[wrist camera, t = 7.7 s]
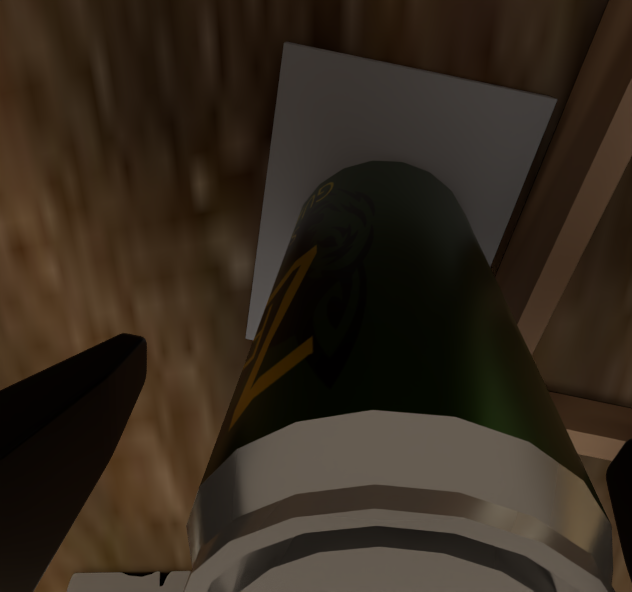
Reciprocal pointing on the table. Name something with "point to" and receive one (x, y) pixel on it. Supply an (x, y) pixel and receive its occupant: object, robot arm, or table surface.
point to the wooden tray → (576, 214)
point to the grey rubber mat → (391, 142)
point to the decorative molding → (127, 582)
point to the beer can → (393, 419)
